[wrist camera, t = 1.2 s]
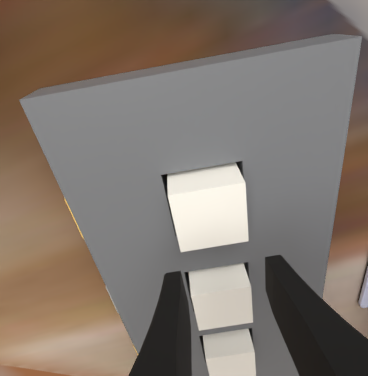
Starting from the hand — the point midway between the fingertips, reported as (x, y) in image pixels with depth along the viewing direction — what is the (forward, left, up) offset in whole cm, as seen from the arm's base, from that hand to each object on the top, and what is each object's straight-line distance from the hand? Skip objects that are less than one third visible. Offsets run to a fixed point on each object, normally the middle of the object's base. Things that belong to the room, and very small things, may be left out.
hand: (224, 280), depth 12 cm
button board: (0, +8, -8) cm, 12 cm away
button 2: (0, +16, -7) cm, 17 cm away
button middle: (0, +8, -7) cm, 10 cm away
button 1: (0, 0, -7) cm, 7 cm away
